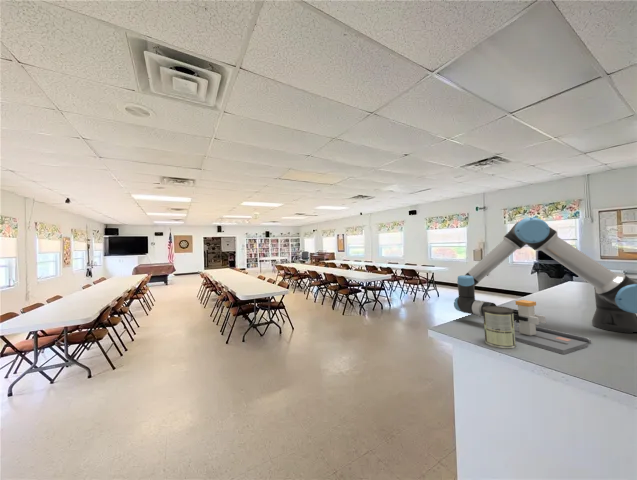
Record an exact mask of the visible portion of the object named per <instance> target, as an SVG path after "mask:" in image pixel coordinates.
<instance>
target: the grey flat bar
mask: <svg viewBox="0 0 637 480" xmlns="http://www.w3.org/2000/svg"><path fill="white" fill-rule="evenodd" d="M536 331H540V332H544V333H549V334H553V335H557V336H561V337H565V338H570V339H574V340H578V341H582V342H587V343H588V344H590V343H591V342H592V339H591V338H589V337H587V336H586V337H585V336H581V335H577V334H576V335H575V334H572V333H566V332H563V331H558V330H555V329H549V328H546V327H540V326H537V325H536Z"/></svg>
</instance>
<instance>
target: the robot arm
mask: <svg viewBox="0 0 637 480" xmlns="http://www.w3.org/2000/svg"><path fill="white" fill-rule="evenodd" d="M525 246H528V247H529V248H531V249H532V250H534V251H540V252H543V253H544V254H546V255H547V256H549V257H551V259H553V260H554V261H556V262H558V263H559V264H560V265H562V266H564V267H565V268H566V269H568V270H569V271H571V272H572V273H574V274H575V275H576V276H578V277H579V278H581V279H583V280H584V281H586V282H587V283H588V284H590V285H591V286H593V287H594V289H593V290H594V297H595V299H594V301H595V312H594V314H593V317H592V319H591V325H592V326H593V327H594V328H598V329H602V330H606V331H611V332H618V333H628V334H634V333H633V332H637V282H636V281H635V280H633V279H632V278H631V277H629V276H627V275H626V274H624V273H616V272H613V271H611V270H610V269H608V268H607V267H606V266H604V265H603V264H601V263H599V262H598V261H597V260H595V259H593V258H592V257H590V256H589V255H587V254H586V253H584V252H582V251H581V250H579V249H578V248H576V247H575V246H573V245H572V244H570V243H568V242H567V241H566V240H564V239H562V238H561V237H559V236H558V231H557V230H555V229H553V228H552V227H551V226H550V225H549V224H548V223H547V222H546V221H545V220H543V219H541V218H538V217H526V218H523V219H521V220H519V221H517V222H516V223H515V224H514V225H513V226H512V227H511V229H510V230H509V231H508V232H507V233H506V234H505V235H504V236H503V240H502V241H500V243H499V244H498V243H497V245H496V246H495V247H494V248H493V249H492V250H491V251H489V253H487V254H486V255H485V256H484V257H483V258H482V259H481V260H480V261H478V262H477V263H476V264H475V265H474V266H472V268H471V269H469V270H468V272H466V273H465V274H464V275H458V276H457V291H458V296H457V297H456V298H455V299H454V302H453V307H454V309H455V310H456V311H458V312H462V313H465V314H468V315H469V314H470V315H475V316H478V317H479V318H482V317H483V318H484V315H483V307H486V306H497V304H496V303H495V302H489V301H485V300H479V299H476V296H475V294H476V293H475V286H477V285H478V284H479V283H480V282H481V281H482V280H483V279H484V278H485V277H487V276H488V275H489V274H491V272H493V271H494V270H495V269H496V268H498V266H499V265H501V264H502V263H503V262H504V261H505V260H506V259H508V258H509V257H510V256H511V255H512V254H513V253H515V252H516V251H518V250H521V249H522V248H524V247H525ZM512 309H513V310H514V312H513V317H514V322H515V321H516V323H517V324H519V320H520V321H522V322H527V323H532V324H536V326H537V325H538V326H539V324H540V323H542V324H546V323H547V319H546V315H542V314H541V315H540V314H535V317H532V316H527V315H521V314H520V316H519V315H518V309H517V308H512Z"/></svg>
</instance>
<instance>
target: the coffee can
mask: <svg viewBox="0 0 637 480" xmlns="http://www.w3.org/2000/svg"><path fill="white" fill-rule="evenodd" d="M513 309H514V308H510V307H506V306H501V305H500V306H499V305H496V306H486V307H483V315H484V317H483V327H484V328H483V329H484V342H485V344H487V345H488V346H491V347H494V348H499V349H513V348H514V349H515V348H516V347H517V346H516V345H517V344H516V341H515V330H514V325H515V321H514V317H513V312H514V310H513Z"/></svg>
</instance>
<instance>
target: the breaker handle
mask: <svg viewBox="0 0 637 480" xmlns="http://www.w3.org/2000/svg"><path fill="white" fill-rule="evenodd" d="M515 305H517V310H518V315H519V316H520V314H521V315H527V316H532V317H535V313H536V311H535V306H537V302H536V301H532V300H527V299H520V300H515ZM518 326H519V330H520V333H522V334H526V335H530V336H531V335H535V334H536V326H537V325H536V324H532V323H527V322H522V321H520V320H519V323H518Z"/></svg>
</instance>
